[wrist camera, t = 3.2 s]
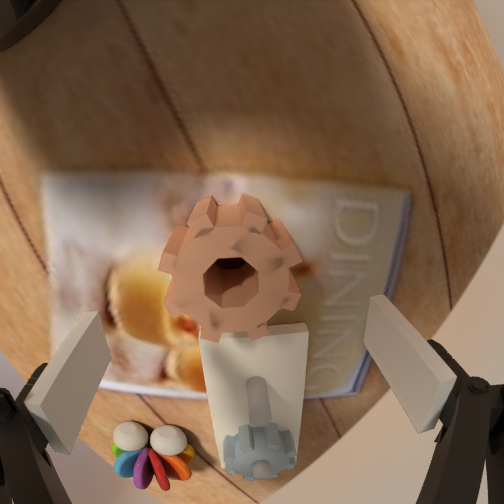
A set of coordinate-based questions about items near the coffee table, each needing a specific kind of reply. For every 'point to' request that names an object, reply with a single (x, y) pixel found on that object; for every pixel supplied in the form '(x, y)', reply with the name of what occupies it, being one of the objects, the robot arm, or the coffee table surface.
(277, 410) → the gear board
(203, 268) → the gear
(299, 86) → the coffee table surface
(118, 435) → the white-domed colorful disc toy
